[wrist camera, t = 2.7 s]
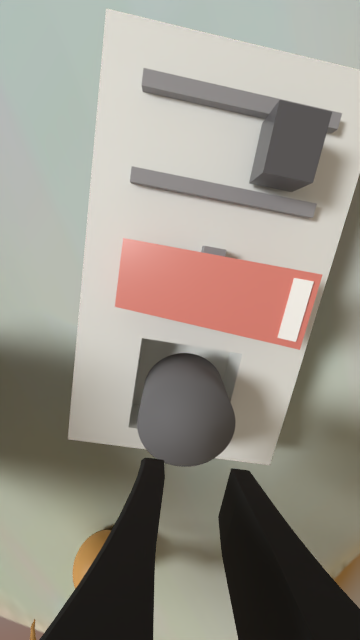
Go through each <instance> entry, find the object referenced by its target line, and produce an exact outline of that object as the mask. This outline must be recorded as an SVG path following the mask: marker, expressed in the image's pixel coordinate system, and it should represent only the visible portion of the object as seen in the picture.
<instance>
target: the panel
mask: <svg viewBox="0 0 360 640" xmlns="http://www.w3.org/2000/svg"><path fill="white" fill-rule="evenodd" d="M279 100H283V101H287V102H292V103H296V104H300V105H305V106H309V107H314V108H318V109H322V110H327V111H331V112H332V115H331V119H330V123H329V126H328V130H327V134H326V137H325V141H324V145H323V148H322V152H321V156H320V159H319V163H318V167H317V170H316V174H315V178H314V181H313V183H311V184H309V185H307V186H305V187H302V188H300V189H298V190H296V191H293V192H288V191H283V190H278V189H273V188H269V187H264V186H259V185H254V184H249V181H250V176H251V172H252V167H253V163H254V158H255V154H256V149H257V145H258V140H259V135H260V131H261V126H262V123H263V121H264V120H265V119H266V117H267V116H268V115H269V113H270V112H271V111H272V109H273V108H274V107H275V105H276V104H277V103H278V101H279ZM359 174H360V70H359V69H355V68H350V67H346V66H342V65H338V64H334V63H330V62H326V61H321V60H317V59H313V58H309V57H305V56H301V55H297V54H293V53H288V52H284V51H280V50H276V49H272V48H268V47H264V46H259V45H255V44H251V43H247V42H243V41H239V40H235V39H230V38H226V37H222V36H218V35H214V34H210V33H206V32H202V31H197V30H193V29H189V28H185V27H181V26H177V25H173V24H168V23H164V22H160V21H156V20H152V19H148V18H144V17H140V16H135V15H131V14H127V13H123V12H119V11H115V10H111V9H106V17H105V28H104V39H103V50H102V61H101V73H100V84H99V95H98V106H97V117H96V128H95V139H94V151H93V162H92V173H91V184H90V195H89V206H88V217H87V229H86V240H85V251H84V262H83V273H82V284H81V296H80V307H79V318H78V329H77V340H76V351H75V362H74V374H73V385H72V396H71V407H70V418H69V429H68V439H69V440H77V441H85V442H92V443H100V444H108V445H116V446H124V447H131V448H139V449H146V448H145V447H144V446H143V444H142V442H141V440H140V437H139V434H138V429H137V421H138V414H139V409H140V404H141V399H142V394H143V389H144V384H145V379H146V377H147V375H148V373H149V371H150V370H151V368H152V367H153V366H154V365H155V364H156V363H157V362H159V361H160V360H161V359H163V358H165V357H167V356H170V355H173V354H178V353H191V354H195V355H198V356H201V357H203V358H205V359H207V360H208V361H210V362H211V363H212V364H213V365H214V366H215V367H216V369H217V370H218V372H219V374H220V376H221V378H222V381H223V384H224V386H225V389H226V392H227V394H228V397H229V399H230V402H231V405H232V407H233V410H234V414H235V420H236V423H235V431H234V435H233V437H232V439H231V441H230V443H229V445H228V446H227V447H226V449H225V450H224V451H223V452H222V453H221V454H219V455H218V456H217V457H215V458H217V459H225V460H233V461H240V462H248V463H256V464H264V465H270V464H271V461H272V457H273V454H274V451H275V448H276V444H277V441H278V438H279V435H280V431H281V428H282V425H283V422H284V418H285V415H286V412H287V409H288V405H289V402H290V399H291V396H292V392H293V389H294V386H295V383H296V379H297V376H298V373H299V370H300V366H301V363H302V360H303V357H304V353H305V350H306V347H307V344H308V340H309V337H310V334H311V331H312V327H313V324H314V321H315V318H316V314H317V311H318V308H319V305H320V301H321V298H322V295H323V292H324V288H325V285H326V282H327V279H328V275H329V272H330V269H331V266H332V262H333V259H334V256H335V253H336V249H337V246H338V243H339V240H340V236H341V233H342V230H343V226H344V223H345V220H346V217H347V213H348V210H349V207H350V204H351V200H352V197H353V194H354V191H355V187H356V184H357V181H358V178H359ZM123 238H127V239H132V240H138V241H143V242H149V243H154V244H160V245H165V246H171V247H176V248H181V249H187V250H192V251H198V252H203V253H208V254H214V255H219V256H225V257H230V258H236V259H241V260H246V261H252V262H257V263H263V264H268V265H274V266H279V267H284V268H290V269H295V270H301V271H306V272H312V273H317V274H322V278H321V282H320V285H319V288H318V292H317V295H316V298H315V302H314V305H313V308H312V312H311V315H310V318H309V321H308V325H307V328H306V331H305V335H304V338H303V341H302V345H301V348H300V350H298V349H294V348H290V347H285V346H281V345H277V344H273V343H268V342H264V341H260V340H255V339H251V338H247V337H243V336H238V335H234V334H230V333H225V332H221V331H217V330H213V329H208V328H204V327H200V326H195V325H191V324H187V323H182V322H178V321H174V320H170V319H165V318H161V317H157V316H152V315H148V314H144V313H140V312H135V311H131V310H127V309H122V308H118V307H115V300H116V292H117V284H118V276H119V268H120V259H121V251H122V243H123Z"/></svg>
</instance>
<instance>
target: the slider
mask: <svg viewBox="0 0 360 640" xmlns="http://www.w3.org/2000/svg"><path fill="white" fill-rule="evenodd" d="M331 115H332V112H331V111H327V110H322V109H318V108H314V107H309V106H305V105H300V104H296V103H292V102H287V101H283V100H279V101H278V103H277V104H276V105H275V107H274V108H273V109H272V111H271V112H270V113H269V115H268V116H267V117H266V119H265V120H264V121H263V123H262V126H261V131H260V135H259V140H258V145H257V149H256V154H255V158H254V163H253V167H252V172H251V176H250V181H249V184H254V185H259V186H264V187H269V188H273V189H278V190H283V191H288V192H293V191H296V190H298V189H300V188H302V187H305V186H307V185H309V184H311V183H313V181H314V178H315V174H316V170H317V167H318V163H319V159H320V156H321V152H322V148H323V145H324V141H325V137H326V134H327V130H328V126H329V123H330V119H331Z"/></svg>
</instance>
